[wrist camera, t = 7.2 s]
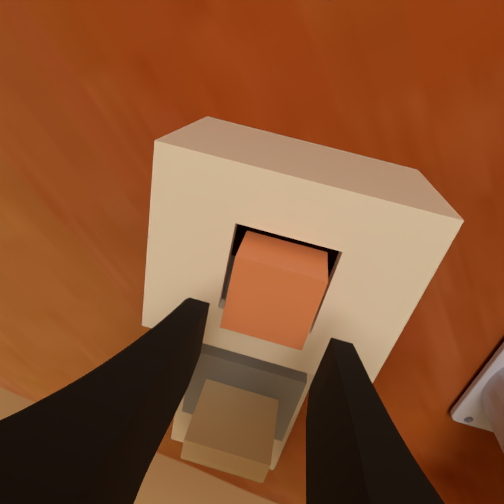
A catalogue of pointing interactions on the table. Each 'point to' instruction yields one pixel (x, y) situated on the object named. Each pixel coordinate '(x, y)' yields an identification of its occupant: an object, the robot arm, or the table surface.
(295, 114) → the table surface
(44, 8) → the table surface
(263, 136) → the cabinet
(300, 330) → the button
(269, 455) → the carriage
